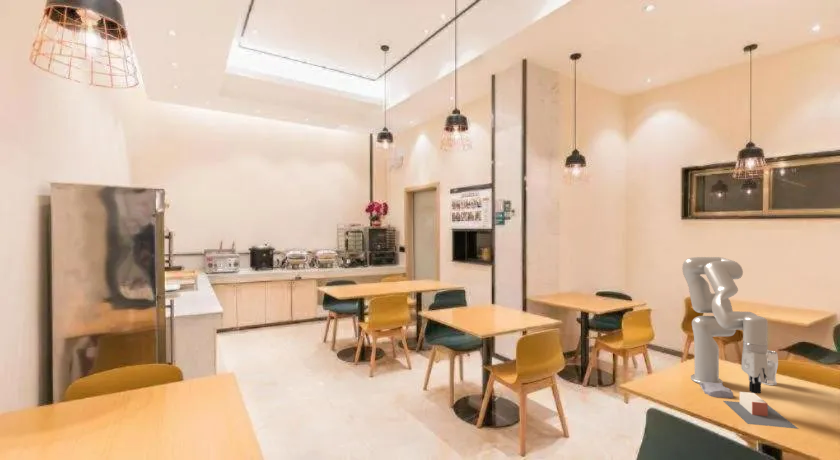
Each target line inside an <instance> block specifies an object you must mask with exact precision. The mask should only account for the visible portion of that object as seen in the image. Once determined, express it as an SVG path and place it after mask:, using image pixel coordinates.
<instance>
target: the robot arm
mask: <svg viewBox="0 0 840 460" xmlns="http://www.w3.org/2000/svg"><path fill="white" fill-rule="evenodd" d="M681 268H682V270H681V271H682V274H683V277H684V279H685V281H686V284H687V286H688V292H689V299H690V302H691V307H692V309H693V311H695V312H696V313H699V314H713V315H698V316H696V317H694V318H693V319H692V320H691V326H692V327H691V329H692V333H693V344H694V345H693V346H694V347H693V348H694V374H691V375H690V380H691V381H692V382H695V383H696V384H699V385H700V384H701V383H705V382H712V383H718V384H720V383H721V384H722V385H723V384H724V381H723V380H722V379H721V378H720V374H719V373H720V371H719V370H720V367H719V364H720V363H719V361H720V360H719V358H720V357H719V356H720V354H719V353H720V352H719V344H718V343H717V341H716V340H715V338H714V337H732V336H734V335H735V333H736V332H737V330H739V331H741V330H742V354H741V371H743V372H744V373H745V374H747V376H748V381H749V384H748V385H749V387H748V388H749V391H748V392H749V393H754V394H761V393H762V384H763V383H762V382H764V378H765V379H766V378H767V376H768V365H767V356H766V353H767V350H768V320H767V319H766V318H765V317H763V316H759V315H757V314H756V313H754V312H751V311H740V310H739V311H735V310H734V311H733V305H732V302H731V300H730V299H729V298H731V297H733V296H735V295H736V294H737V293H738V291H739V288H738V286H737V284H736V282H735V281H734V280H738V279H741V277H742V276H743V273H744V271H743V268H742V266H741V265H740V263H739V262H737V261H734V260H732V259H728V258H724V257H720V256H696V257H688V258H686V259H685V260H684V261H683V262H682V267H681ZM703 275H706V277H707V280H708V281H707V280H706V278H704V277H703ZM708 282H709V283H710V284H709V283H708ZM710 286H711V288H712V289H713V292H714V293H712V292H711V289H710ZM723 386H724V385H723Z"/></svg>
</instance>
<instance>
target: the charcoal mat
mask: <svg viewBox="0 0 840 460" xmlns="http://www.w3.org/2000/svg"><path fill="white" fill-rule="evenodd" d="M722 402H723V403H725V405H727V406H728V407H729V408H730V409H731V410H732V411H733V413H735V414H736V415H737V416H738V417H739V418H741V419H742V420H743V421H744V422H745V423H746V424H747V425H757V426H767V427H775V428H776V427H777V428H785V429H787V428H789V429H797V430H798V429H799V427H797V425H795V424H793V423H792V422H791V421H790V420H788V419H787V418H785V417H784V416H783V415H782V414H780V413H779V412H778V411H776V409H774V408H773V407H771V406H770V405H768V416H761V415H752V414H751V413H750V412H749V411H748V410H747V409H745V408H744V407H743V406H742V405H741V404H740V401H731V400H730V401H729V400H722Z"/></svg>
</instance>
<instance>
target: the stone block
mask: <svg viewBox="0 0 840 460" xmlns="http://www.w3.org/2000/svg"><path fill="white" fill-rule="evenodd" d="M699 386H700V387H701V390H702V391H703V393H704V394H705V395H708V396H709V397H711V398H726V399H734V393H733V390H732V389H730V388H728V387H725V385H722V384H721V383H720V384H718V383H712V382H705V383H701V384H699Z"/></svg>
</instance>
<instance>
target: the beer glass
mask: <svg viewBox="0 0 840 460" xmlns="http://www.w3.org/2000/svg"><path fill="white" fill-rule="evenodd" d="M766 356H767V365H768V376H767V378H766V379H765V378H764V382H762V384H763V385H767V386H773V385H774V386H777V385H778V383H777V378H776V377H777V370H778V367H779V357H778V352H777V351H775V350H770V349H767V353H766Z"/></svg>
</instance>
